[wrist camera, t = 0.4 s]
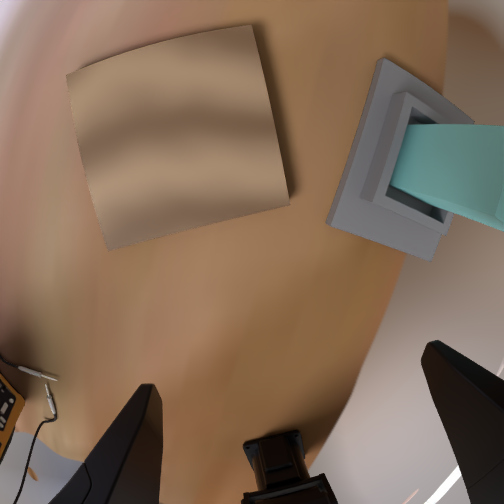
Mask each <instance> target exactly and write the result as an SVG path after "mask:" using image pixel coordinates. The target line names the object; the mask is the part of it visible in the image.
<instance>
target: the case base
mask: <svg viewBox="0 0 504 504" xmlns="http://www.w3.org/2000/svg"><path fill="white" fill-rule="evenodd" d="M420 124H471V125H474V121H473V120H472V119H471V118H470V117H469V116H467V115H466V114H465V113H464V112H462V111H461V110H460V109H459V108H457V107H456V106H455V105H453V104H452V103H451V102H450V101H448V100H447V99H446V98H444V97H443V96H442V95H440V94H439V93H438V92H436V91H435V90H433V89H432V88H431V87H429V86H428V85H426V84H425V83H423V82H422V81H421V80H419V79H418V78H416V77H415V76H413V75H412V74H410V73H408V72H407V71H405V70H404V69H402V68H401V67H399V66H397V65H396V64H394V63H392V62H391V61H389V60H387V59H386V58H382V59H380V60H378V61H377V65H376V68H375V72H374V76H373V79H372V83H371V86H370V89H369V93H368V96H367V100H366V103H365V106H364V110H363V113H362V116H361V119H360V123H359V126H358V129H357V132H356V135H355V138H354V141H353V145H352V148H351V151H350V154H349V157H348V160H347V163H346V166H345V169H344V172H343V175H342V178H341V180H340V183H339V186H338V189H337V192H336V195H335V198H334V200H333V203H332V206H331V209H330V212H329V214H328V217H327V220H326V224H328V225H329V226H331V227H334V228H337V229H340V230H343V231H346V232H349V233H352V234H355V235H358V236H360V237H363V238H366V239H369V240H372V241H375V242H378V243H380V244H383V245H386V246H389V247H392V248H394V249H397V250H400V251H403V252H405V253H408V254H411V255H413V256H416V257H419V258H422V259H424V260H427V261H429V262H431V261H432V258H433V256H434V253H435V251H436V248H437V246H438V243H439V240H440V238H441V235H442V234H443V235H445V236H446V235H447V232H448V229H449V227H450V224H451V221H452V218H453V215H454V213H453V212H450V211H447V210H444V209H441V208H438V207H435V206H432V205H429V204H426V203H424V202H422V201H420V200H418V199H416V198H414V197H412V196H410V195H408V194H406V193H404V192H402V191H400V190H398V189H396V188H394V187H391V186H389V182H390V179H391V176H392V173H393V170H394V167H395V164H396V161H397V158H398V154H399V151H400V148H401V145H402V141H403V138H404V134H405V131H406V127H407V125H420Z"/></svg>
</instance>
